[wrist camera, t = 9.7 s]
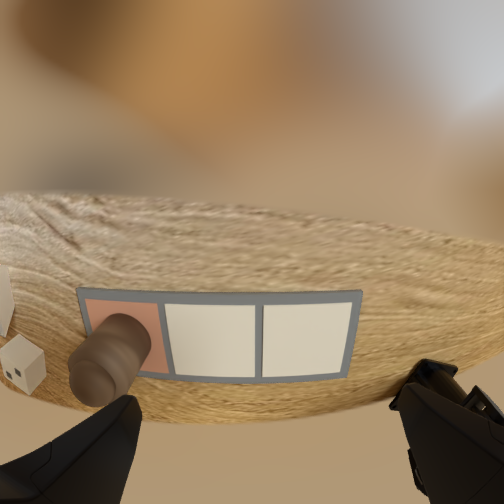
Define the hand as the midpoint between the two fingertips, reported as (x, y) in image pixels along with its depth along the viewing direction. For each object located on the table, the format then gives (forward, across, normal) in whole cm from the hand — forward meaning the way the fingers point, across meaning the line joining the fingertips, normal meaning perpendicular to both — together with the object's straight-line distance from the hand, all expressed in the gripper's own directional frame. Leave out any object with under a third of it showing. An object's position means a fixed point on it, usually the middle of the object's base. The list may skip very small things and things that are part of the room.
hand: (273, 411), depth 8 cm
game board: (+12, +4, +5) cm, 13 cm away
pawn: (+11, +11, +4) cm, 16 cm away
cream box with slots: (+12, +25, +9) cm, 29 cm away
